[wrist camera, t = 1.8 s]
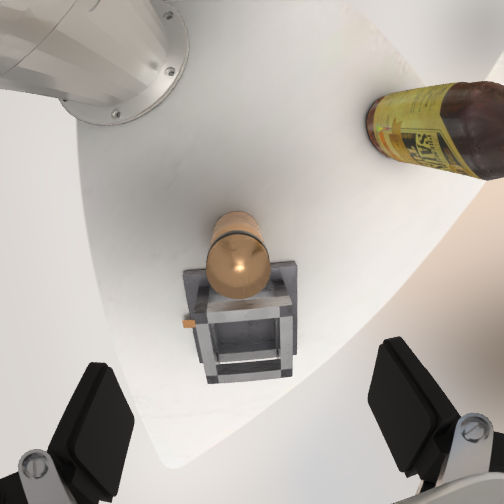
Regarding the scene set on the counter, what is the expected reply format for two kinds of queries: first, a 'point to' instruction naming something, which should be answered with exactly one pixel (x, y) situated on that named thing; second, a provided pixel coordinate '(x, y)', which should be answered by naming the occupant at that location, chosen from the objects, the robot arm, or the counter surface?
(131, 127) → the counter surface
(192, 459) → the counter surface
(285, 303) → the collar stand
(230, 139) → the counter surface
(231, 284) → the copper tube
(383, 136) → the sauce bottle
